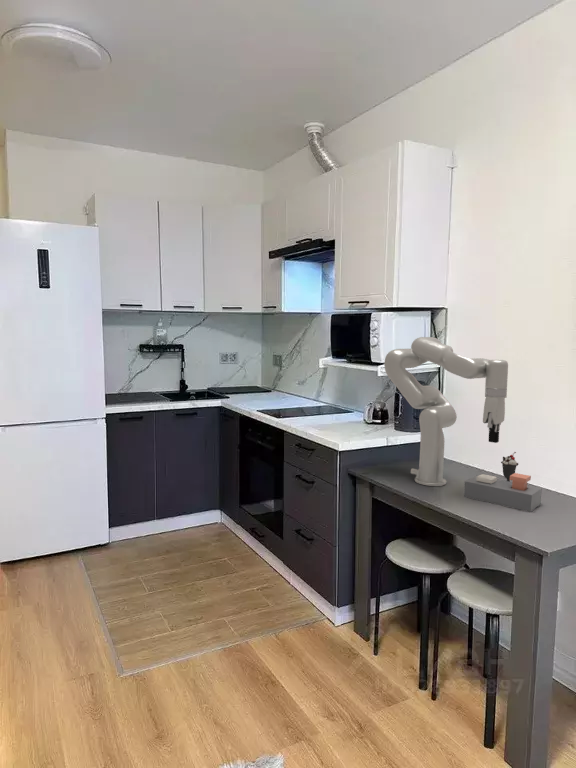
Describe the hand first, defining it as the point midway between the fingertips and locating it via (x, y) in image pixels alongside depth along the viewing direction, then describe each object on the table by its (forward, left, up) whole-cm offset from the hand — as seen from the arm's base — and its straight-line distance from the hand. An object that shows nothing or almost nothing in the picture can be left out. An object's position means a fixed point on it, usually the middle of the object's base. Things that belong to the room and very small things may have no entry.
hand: (493, 441), depth 199 cm
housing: (+4, 0, -21) cm, 22 cm away
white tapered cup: (-2, 0, -21) cm, 21 cm away
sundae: (0, +19, -22) cm, 29 cm away
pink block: (+10, 0, -18) cm, 21 cm away
